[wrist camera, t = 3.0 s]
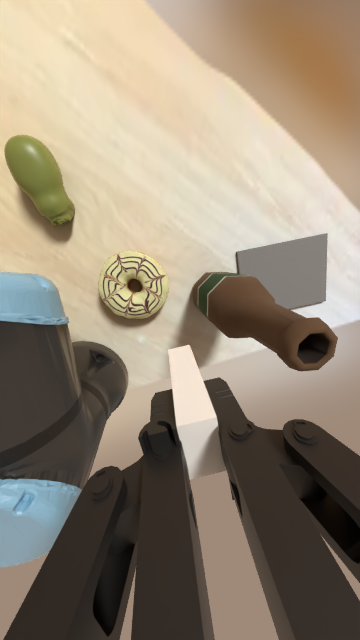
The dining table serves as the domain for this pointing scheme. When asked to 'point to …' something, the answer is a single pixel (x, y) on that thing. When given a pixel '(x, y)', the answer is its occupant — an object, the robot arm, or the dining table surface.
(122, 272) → the decorated donut
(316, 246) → the mat
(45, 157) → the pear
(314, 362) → the beer bottle
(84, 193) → the dining table surface
